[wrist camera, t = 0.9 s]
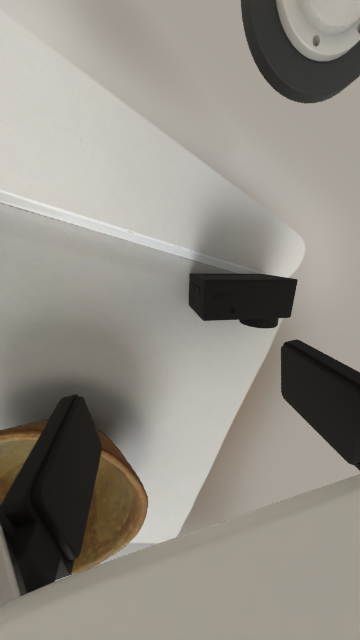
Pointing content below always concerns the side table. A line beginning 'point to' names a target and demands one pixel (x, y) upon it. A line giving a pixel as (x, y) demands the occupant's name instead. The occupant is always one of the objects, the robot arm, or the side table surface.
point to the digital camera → (242, 298)
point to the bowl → (107, 501)
